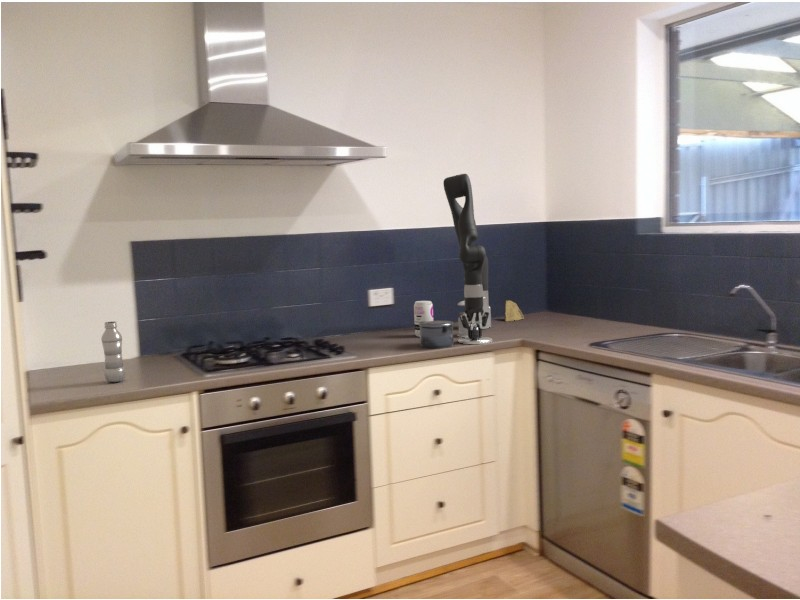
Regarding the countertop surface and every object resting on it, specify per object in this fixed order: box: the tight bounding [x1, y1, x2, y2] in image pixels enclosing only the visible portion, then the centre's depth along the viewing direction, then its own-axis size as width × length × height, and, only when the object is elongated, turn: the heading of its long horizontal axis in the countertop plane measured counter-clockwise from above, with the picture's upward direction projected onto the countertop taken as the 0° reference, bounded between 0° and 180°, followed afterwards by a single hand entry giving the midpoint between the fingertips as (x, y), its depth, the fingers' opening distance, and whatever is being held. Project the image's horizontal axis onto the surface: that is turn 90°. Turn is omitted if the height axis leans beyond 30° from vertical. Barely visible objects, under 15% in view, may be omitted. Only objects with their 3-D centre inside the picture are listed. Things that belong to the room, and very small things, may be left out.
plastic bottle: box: [101, 321, 126, 383], centre depth 223 cm, size 6×7×20 cm
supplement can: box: [413, 300, 434, 338], centre depth 292 cm, size 8×8×15 cm
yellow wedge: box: [504, 299, 525, 322], centre depth 329 cm, size 11×9×10 cm
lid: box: [457, 327, 493, 345], centre depth 271 cm, size 14×14×6 cm
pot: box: [419, 320, 454, 349], centre depth 266 cm, size 14×17×9 cm
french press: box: [456, 300, 476, 338], centre depth 287 cm, size 10×12×25 cm
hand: (475, 338), depth 272 cm, fingers closed on lid, 3 cm apart
